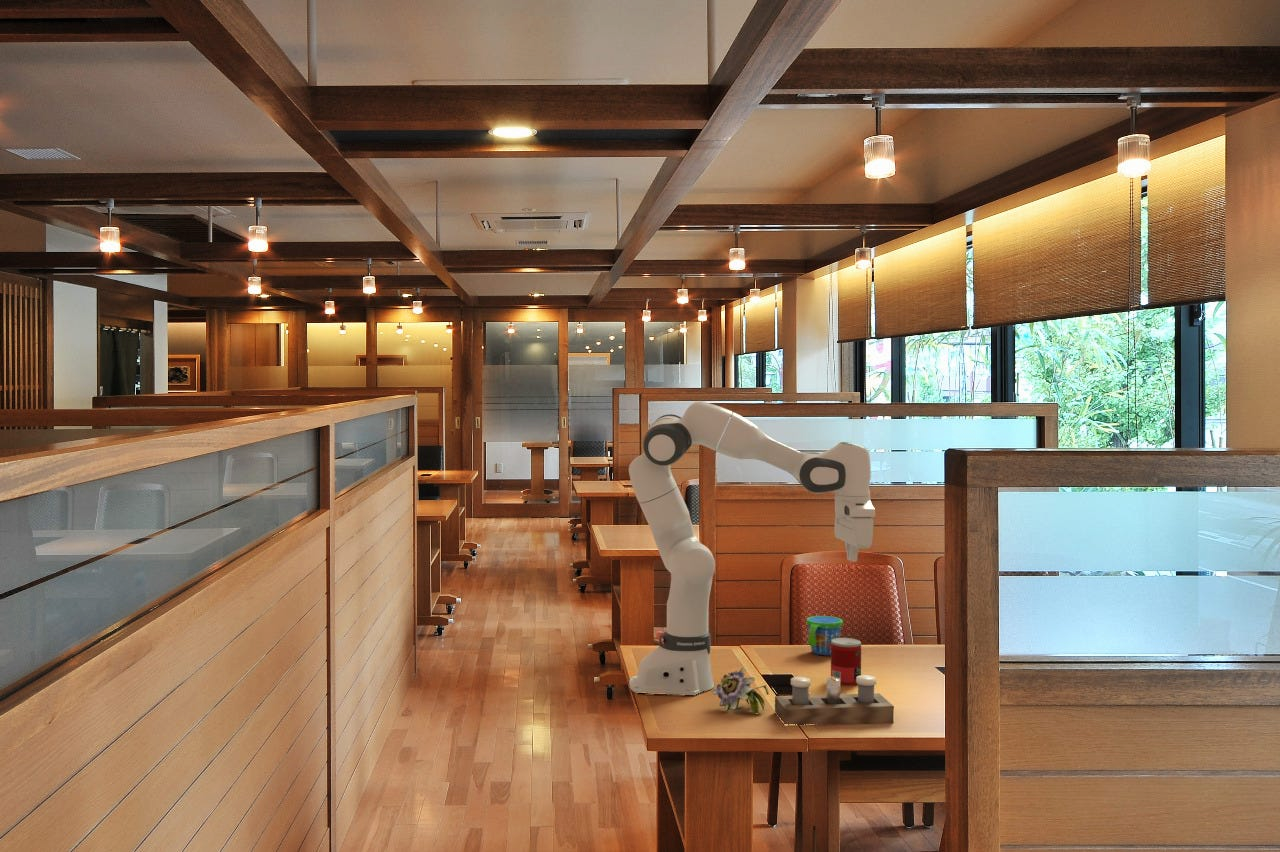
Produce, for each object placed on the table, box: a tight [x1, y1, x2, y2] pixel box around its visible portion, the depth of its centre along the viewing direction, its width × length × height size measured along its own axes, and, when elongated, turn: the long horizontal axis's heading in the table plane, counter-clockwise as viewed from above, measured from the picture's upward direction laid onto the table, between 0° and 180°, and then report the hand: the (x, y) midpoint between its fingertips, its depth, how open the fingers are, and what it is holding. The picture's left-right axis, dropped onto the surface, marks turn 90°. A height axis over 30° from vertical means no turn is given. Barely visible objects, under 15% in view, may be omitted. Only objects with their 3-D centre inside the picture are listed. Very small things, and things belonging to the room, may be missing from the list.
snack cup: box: [805, 615, 844, 656], centre depth 296 cm, size 16×10×10 cm
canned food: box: [830, 637, 862, 686], centre depth 266 cm, size 8×8×11 cm
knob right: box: [856, 674, 877, 704], centre depth 237 cm, size 5×5×9 cm
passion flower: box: [711, 667, 770, 714], centre depth 243 cm, size 11×11×12 cm
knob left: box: [790, 676, 811, 706], centre depth 235 cm, size 5×5×9 cm
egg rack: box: [774, 692, 895, 726], centre depth 236 cm, size 26×10×4 cm, turn 95°
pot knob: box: [826, 675, 841, 705], centre depth 236 cm, size 3×3×6 cm
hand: (852, 560), depth 251 cm, fingers closed
